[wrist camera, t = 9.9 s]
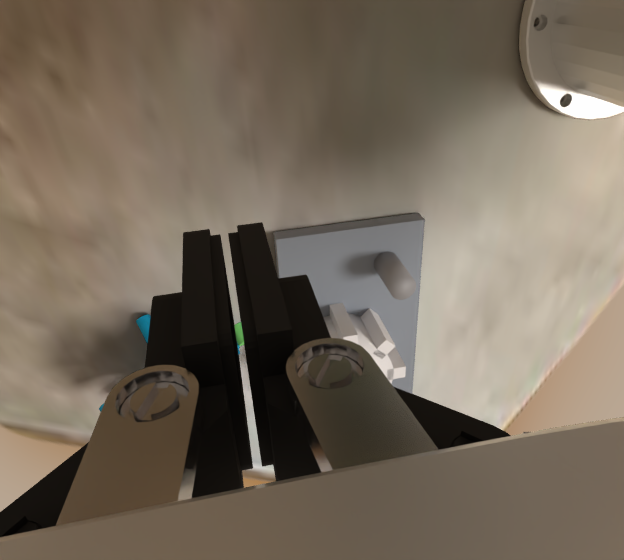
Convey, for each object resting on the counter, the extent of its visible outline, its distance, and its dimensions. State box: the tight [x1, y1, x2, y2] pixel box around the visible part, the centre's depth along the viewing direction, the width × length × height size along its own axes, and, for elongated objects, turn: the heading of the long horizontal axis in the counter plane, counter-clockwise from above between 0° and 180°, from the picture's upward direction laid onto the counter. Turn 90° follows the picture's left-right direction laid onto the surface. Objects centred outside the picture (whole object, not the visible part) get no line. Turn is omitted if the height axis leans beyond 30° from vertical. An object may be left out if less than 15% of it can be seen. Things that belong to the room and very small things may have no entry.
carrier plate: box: [274, 213, 425, 394], centre depth 40 cm, size 11×20×5 cm, turn 3°
